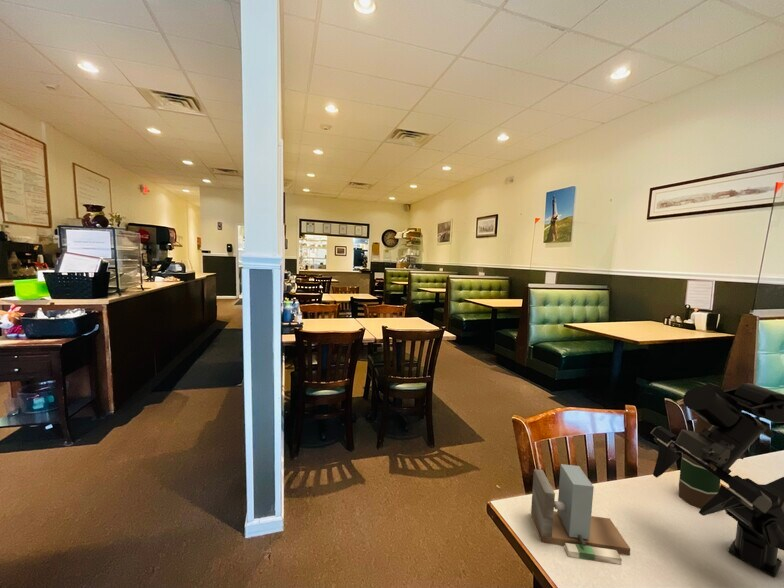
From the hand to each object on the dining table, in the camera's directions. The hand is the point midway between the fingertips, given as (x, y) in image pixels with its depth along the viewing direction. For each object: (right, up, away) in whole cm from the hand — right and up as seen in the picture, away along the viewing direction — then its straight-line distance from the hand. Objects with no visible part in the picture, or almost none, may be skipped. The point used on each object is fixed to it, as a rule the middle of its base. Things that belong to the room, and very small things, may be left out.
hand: (676, 494), depth 65 cm
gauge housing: (-18, -12, +4) cm, 22 cm away
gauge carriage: (-20, -10, +4) cm, 23 cm away
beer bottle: (+21, -13, +17) cm, 29 cm away
